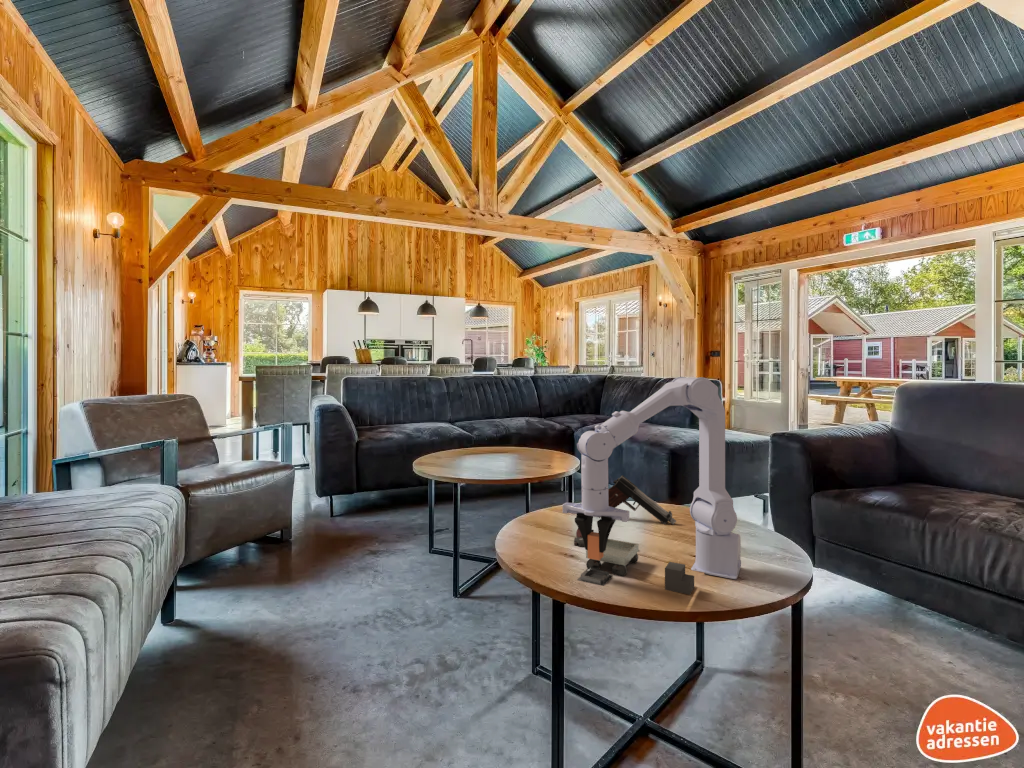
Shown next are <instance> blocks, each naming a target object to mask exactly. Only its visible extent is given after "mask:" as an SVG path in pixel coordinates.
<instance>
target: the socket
mask: <svg viewBox="0 0 1024 768" xmlns="http://www.w3.org/2000/svg"><path fill="white" fill-rule="evenodd" d="M613 576H614V574H610V572H609V571H605V570H601V569H599V570H597V569H592V568H590V569H587V568H586V569H585V570H584V571H583V572H582V573H580V576H579V577H578V578H577V579H576V581H579V582H583V583H589V584H593V585H596V586H597V585H598V586H603V587H604V586H605V585H607V583H608V582H609V581H610V580H611V579H612V578H613Z"/></svg>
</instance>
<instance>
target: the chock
mask: <svg viewBox="0 0 1024 768" xmlns="http://www.w3.org/2000/svg"><path fill="white" fill-rule="evenodd" d="M694 589H695V575H692V574H686V564H685V563H678V562H673V561H669V562H668V563H667V565H666V566H665V567H664V590H665V591H670V592H675V593H678V594H679V593H680V594H685V595H689V596H690V595H691V594H692V592H693V591H694Z"/></svg>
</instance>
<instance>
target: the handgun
mask: <svg viewBox="0 0 1024 768" xmlns="http://www.w3.org/2000/svg"><path fill="white" fill-rule="evenodd" d="M628 499H632V500H633V501H634V502H633V503H632V504H631V503H630V502H628V501H627V500H628ZM622 503H623V504H625V505H626V506H627V507H628V508H630V510H632V511H634V512H635V511H636V510H637V509H638V508H639V507H642V508H643V509H644V510H646V511H647V512H648V513H649V514H650V515H652V516H653V517H654V518H655V519H657V520H658V521H659V522H661V523H662V524H663V525H666V524H667V523H670V524H671V525H675V524H676V522H677V520H676V519H675V518H674V517H673V512H672V511H671V510H668V511H667V510H666V509H664V508H663V507H662V506H660V505H659V504H658V503H657V502H656V501H654V500H653V499H652V498H651V497H649V496H648V495H646V493H644V492H643V491H642V490H640V489H639V488H638V486H637V485H636V484H634V483H633V482H632V481H631V480H630V479H628V478H627V477H625V476H624V475H621V476H620V477H618V478H617V479H615V480H613V485H612V486H611V487H608V505H609V506H610V507H614V508H618V507H619V506H620V505H621V504H622ZM636 503H637V504H638V505H637V506H636V507H635V504H636ZM636 512H637V511H636Z"/></svg>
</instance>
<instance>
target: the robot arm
mask: <svg viewBox="0 0 1024 768" xmlns="http://www.w3.org/2000/svg"><path fill="white" fill-rule="evenodd" d="M674 406H675V407H676V406H682V407H684V408H686V409H688V410H689V411H690V412H691V413H693V415H694V416H696V417H697V418H698V425H699V426H698V429H699V431H698V439H699V442H698V443H699V444H698V445H699V446H698V452H699V453H698V456H699V457H698V460H699V461H698V469H699V470H698V471H699V472H698V479H699V480H698V483H699V484H698V485H699V486H698V487H697V488H696V489H695V490H694V491H693V498H692V502H691V504H690V506H689V514H690V517H691V518H692V520H693V521H694V526H695V561H694V563H693V565H692V566H691V568H690V570H691V571H695V572H699V573H704V575H705V574H706V575H709V576H717V577H721V578H727V579H731V580H737V579H738V576H739V573H740V571H741V568H742V560H741V558H742V557H741V554H742V553H741V549H742V548H741V547H742V546H741V545H742V544H741V535H740V534H739V533H735V532H733V530H734V529H735V528H736V525H737V524H738V516H737V512H736V511H735V509H734V501H733V498H732V497H731V495H730V494H729V492H728V491H727V489H726V409H725V406H724V404H723V402H722V400H721V398H720V395H719V387H718V386H717V385H716V384H715V383H713V382H712V381H711V380H710V379H709V378H707V377H687V376H686V377H685V376H678V377H675V378H673V380H671V381H669V382H667V383H664V384H663V386H662V387H661V388H660V389H659V390H657V391H656V392H654V393H653V394H652V395H650V396H649V397H647V398H646V399H645V400H643V402H641V403H639V404H637V406H636V407H634V408H633V409H632V410H631V411H626V410H620V411H616V410H615V411H614V412H612V413H611V417H610V418H608V419H607V420H605V421H604V422H602V423H601V424H595V426H594V430H588V431H587V430H586V431H584V433H582V434H581V436H580V438H579V439H578V442H577V443H576V449H577V450H578V452H579V454H581V455H580V456H581V457H580V458H581V465H580V466H581V467H580V468H581V470H580V471H581V472H580V473H581V474H580V476H581V477H580V479H581V503H580V502H579V503H578V502H564V503H562V514H575V515H576V517H575V518H574V523H575V524H576V526H577V529H578V528H579V530H580V532H581V535H582V538H583V541H584V545H585V547H584V549H585V551H586V550H588V535H589V534H590V533H591V532H592V530H593V520H594V518H599V519H598V520H597V521H596V525H597V529H598V533H599V552H601V553H603V552H604V551H605V550H606V545H607V540H608V539H609V536H610V534H611V532H612V528H613V526H614V525H615V522H616V521H621V522H623V523H628V521H630V510H626V509H622V508H618V507H615V508H614V507H610V506H609V505H608V489H609V458H610V457H611V455H612V453H613V451H614V449H616V447H618V446H620V445H621V444H623V443H624V442H625V441H627V440H628V439H630V438H631V437H632V436H635V435H636V434H637V433H638V431H639V427H640V424H642V423H643V422H645V421H646V420H648V419H650V418H652V417H653V416H656V414H658V413H660V412H662V411H664V410H665V409H667V408H668V407H674ZM600 517H601V518H600Z"/></svg>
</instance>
